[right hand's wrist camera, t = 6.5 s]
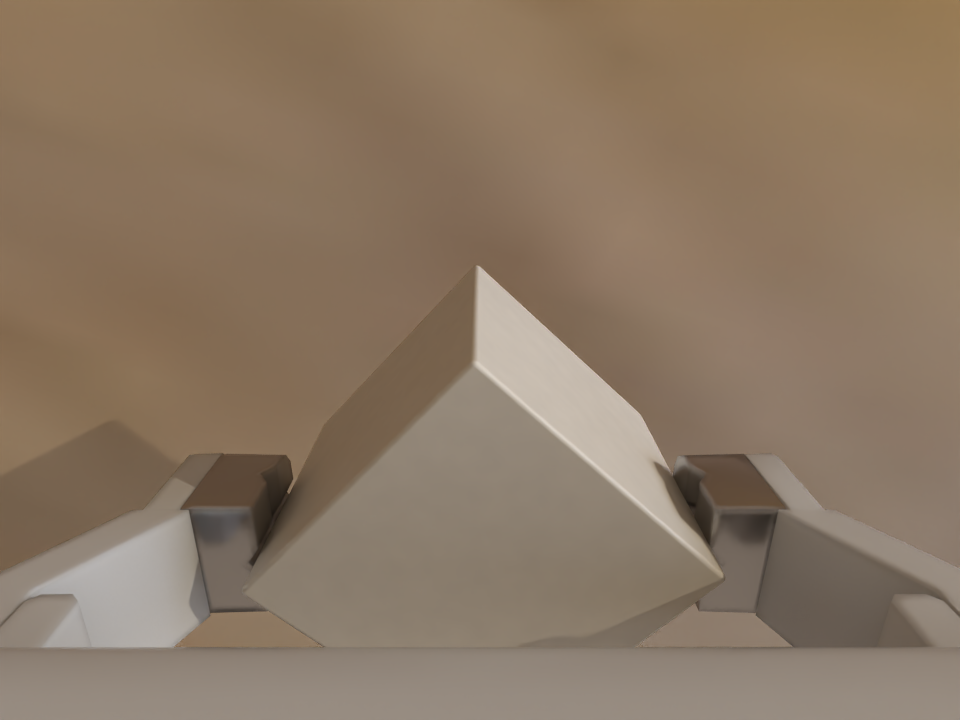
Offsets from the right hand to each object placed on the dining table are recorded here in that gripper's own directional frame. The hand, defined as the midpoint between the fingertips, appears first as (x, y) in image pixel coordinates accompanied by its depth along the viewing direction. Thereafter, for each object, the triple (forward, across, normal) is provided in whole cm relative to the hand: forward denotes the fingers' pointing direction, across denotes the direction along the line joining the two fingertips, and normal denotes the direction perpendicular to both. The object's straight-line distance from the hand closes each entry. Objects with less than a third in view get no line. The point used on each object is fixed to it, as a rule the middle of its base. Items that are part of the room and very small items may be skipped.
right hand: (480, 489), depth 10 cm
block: (+2, 0, 0) cm, 2 cm away
